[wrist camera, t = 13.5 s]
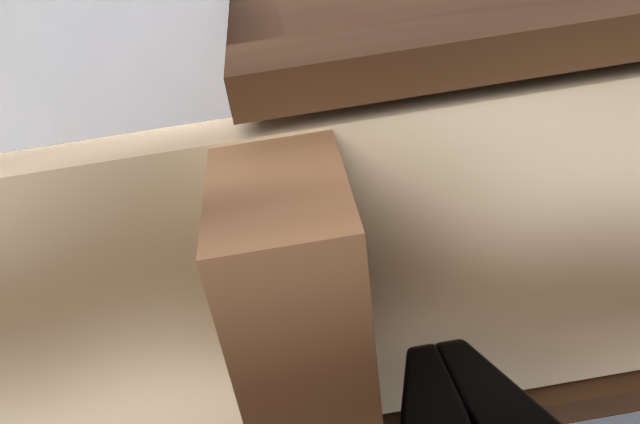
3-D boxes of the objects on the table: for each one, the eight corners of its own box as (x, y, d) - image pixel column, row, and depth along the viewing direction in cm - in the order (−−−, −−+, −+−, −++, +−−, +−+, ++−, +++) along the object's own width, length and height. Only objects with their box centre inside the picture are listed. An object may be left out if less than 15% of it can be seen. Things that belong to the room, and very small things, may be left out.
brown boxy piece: (821, 208, 15) (1032, 342, 11) (289, 296, 15) (307, 469, 11) (950, -118, 11) (1352, -96, 7) (230, -11, 11) (224, 77, 7)
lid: (668, 329, 11) (800, 478, 9) (-49, 452, 11) (-142, 649, 8) (747, 36, 8) (987, 128, 6) (-239, 190, 8) (-482, 366, 5)
